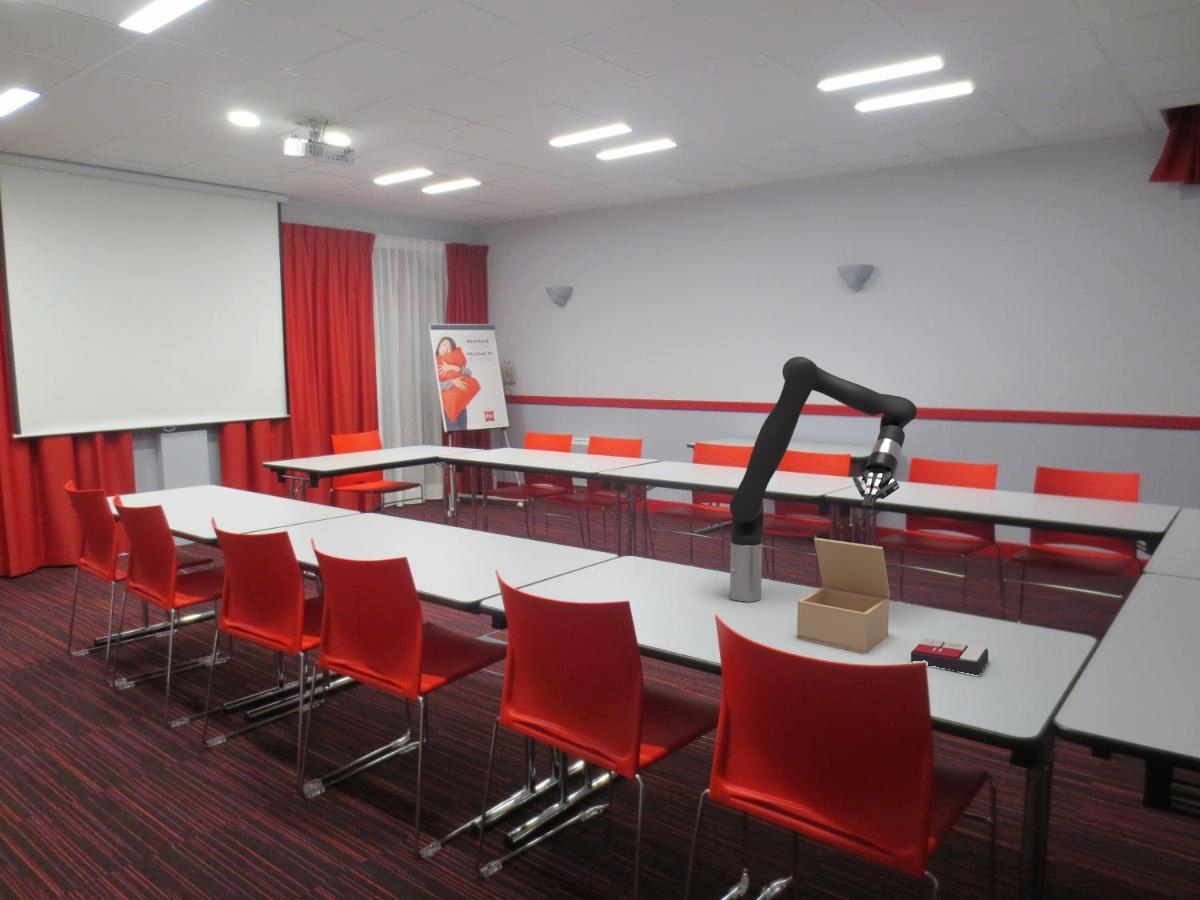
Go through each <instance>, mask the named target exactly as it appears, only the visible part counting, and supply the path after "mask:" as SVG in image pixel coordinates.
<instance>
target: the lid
mask: <svg viewBox="0 0 1200 900" xmlns="http://www.w3.org/2000/svg"><path fill="white" fill-rule="evenodd" d="M813 541H814V545H815V551H816V558H817V562H818V563H817V564H818V567H819V571H820V577H821V582H822V587H825V588H831V589H837V590H842V591H848V592H853V593H859V594H865V595H870V596H876V597H882V598H887V599H890V597H891V593H890V592H891V591H890V587H889V579H888V572H887V567H886V560H885V552H884V547H883V546H877V545H870V544H864V543H863V544H862V543H856V542H855V543H854V542H849V541H842V540H835V539H827V538H822V537H821V538H819V537H814V538H813Z"/></svg>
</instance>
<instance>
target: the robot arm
mask: <svg viewBox="0 0 1200 900" xmlns="http://www.w3.org/2000/svg"><path fill="white" fill-rule="evenodd" d="M782 377H783V380H784V383H783V387H782V390H781V393H780V396H779V398H778V400H777V402H776V404H775V406H774V407H773V408H772V409H771V411H770V413H769V414H768V415H767V417H766V419H765V420H764V422H763V423H762V425H761V428H760V430H759V432H758V434H757V436H756V437H757V438H756V439H755V442H754V445H753V448H752V450H751V454H750V457H749V460H748V463H747V467H746V470H745V473H744V476H743V477H742V480H741V482H740V484H739V486H738V488H737V489H736V491H735V493H734V495H733V496H732V498H731V500H730V501H729V511H730V514H731V516H732V526H731V533H730V566H729V568H730V569H729V570H730V573H729V574H730V575H729V576H730V583H729V587H730V590H729V591H730V592H729V593H730V594H729V596H730V599H732V601H737V600H738V602H742V601H745V602H744V603H749V602H751V603H752V602H757V601H760V600H761V599H762V562H763V561H762V557H763V553H762V550H763V549H762V548H763V547H762V546H763V531H764V496H765V493H766V491H767V488H768V486H769V484H770V481H771V479H772V477H773V476H774V474H775V473H776V471H777V469H778V468H779V466H780V464H781V463H782V461H783V458H784V456H785V454H786V452H787V450H788V447H789V445H790V443H791V440H792V437H793V435H794V433H795V429H796V427H797V424H798V421H799V419H800V416H801V413H802V410H803V409H804V405H805V404H806V403H807V401H808V399H809V396H810V395H811V393H812V392H813V391H814V392H817V393H820V394H821V395H824V396H826V397H829V398H830V399H833V400H834V401H837V402H839V403H841V404H842V405H845V406H846V407H848V408H851V409H853V410H855V411H858V412H861V413H863V414H865V415H867V416H870V417H875V416H878V415H880V414H882V416H881V419H880V424H879V433H878V435H877V439H876V441H875V444H874V445H873V447H872V449H871V453H870V456H869V458H868V461H867V464H866V467H865V470H864V471H863V472H862V474H861V475H860V476H858V477H857V476H853V477H852V480H853V483H854V486H855V487H856V489H857V491H858V493H859V495H860V496H861V497H862V498H863V499H862V502H861V504H862V507H863V509H864V510H865V511H871V510H872V509H874V508H875V504H876V503H877V500H878V499H881V500H884V499H885V498H886V497H889V496H890V495H891V494H893V493H894V492H896V491H897V490H899V488H900V485H899V481H898V480H896V479H895V478H894V475H895V472H896V469H897V466H898V463H899V462H900V457H901V451H902V448H903V445H904V441H905V439H906V438H905V437H906V434H905V431H904V429H905V427H906V426H907V425H908V424H909V423H910V422H912V421H913V420H914V419H915V418H916V416H917V414H918V409H917V406H916V405H915V403H914V402H913V401H912V400H910V399H908V398H906V397H904V396H899V395H892V394H887V393H880V392H877V391H876V390H873V389H870V388H869V387H866V386H863V385H861V384H858V383H855V382H853V381H849V380H848V379H844V378H842V377H839V376H836V375H834V374H832V373H830V372H828V371H826V370H824V369H822V368H821V367H819V366H818V365H817V364H816V363H815V362H814V361H812V360H811V359H809V358H807V357H805V356H794V357H791V358H790V359H788V360H786V362H785V363H784V364H783V367H782ZM863 482H864V483H863ZM863 484H865V486H866V487H865V489H864V488H863V486H862V485H863Z"/></svg>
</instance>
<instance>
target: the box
mask: <svg viewBox="0 0 1200 900" xmlns="http://www.w3.org/2000/svg"><path fill="white" fill-rule="evenodd" d="M889 611H890V598H886V597H881V596H875V595H869V594H864V593H858V592H852V591H847V590H841V589H835V588H830V587H824V586H822V587H820V588H818V589H817V590H816V591H814V592H812V593H810V594H808V595H806V596H805V597H803V598H801V599H799V600H797V616H796V617H797V618H796V619H797V621H796V622H797V630H796V634H797V635H796V639H797V640H800V641H801V640H802V641H805V642H811V643H814V642H816V644H819V643H820V644H821V645H823V644H824V646H828V645H830V646H829V647H832V646H834V647H833V648H837V647H839V648H838V649H841V648H843V649H842V650H846V649H848V651H850V650H852V651H851V652H855V651H858V652H857V653H859V652H862V653H861V654H863V653H866V652H867V653H869V652H870V651H871V650H872V649H873V647H874V648H875V647H876V646H877V645H878V644H880V643H881V642H883V640H885V639H886V638H887V637H889V614H890V612H889ZM825 644H826V645H825ZM869 650H870V651H869ZM867 653H866V654H867Z"/></svg>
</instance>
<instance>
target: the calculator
mask: <svg viewBox="0 0 1200 900" xmlns="http://www.w3.org/2000/svg"><path fill="white" fill-rule="evenodd" d="M923 660H925V661H927V662H928V666H936V667H939V668H945V669H950V670H954V671H953V672H955V671H959V672H964V673H969V674H974V675H979V674H980V673H981V672H982V670H983V668H984V667H985V665H986V664H987V662H988V663H989V648H986V647H984V646H975V645H968V644H967V643H961V642H954V641H945V640H940V639H932V638H925V637H924V638H923V639H922V640H921V641H920V642H919V643H918V644H917V645H916V646H915V648H914V649H913V650H912V651H911V652H910V663H911V662H913V661H923ZM987 665H988V664H987ZM928 666H927V667H928ZM985 668H986V667H985ZM983 671H984V670H983ZM982 673H983V672H982ZM982 673H981V674H982Z"/></svg>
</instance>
